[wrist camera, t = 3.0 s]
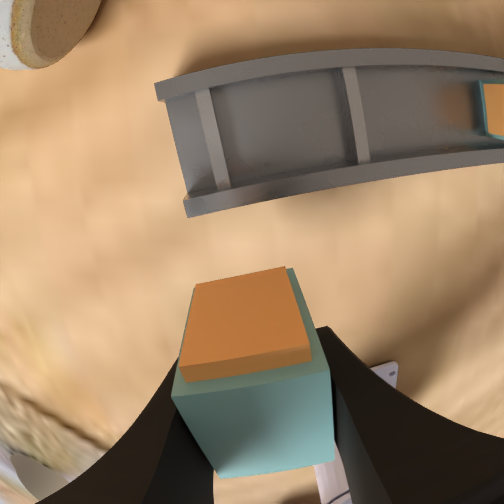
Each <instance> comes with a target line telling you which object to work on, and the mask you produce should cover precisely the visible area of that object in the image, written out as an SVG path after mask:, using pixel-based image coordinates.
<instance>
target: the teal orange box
mask: <svg viewBox="0 0 504 504" xmlns="http://www.w3.org/2000/svg"><path fill="white" fill-rule="evenodd" d="M479 81H480V88H481V95H482V102H483V111H484V121H485V132H486V137H491V138H496V139H501V140H504V79H487V80H479Z"/></svg>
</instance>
